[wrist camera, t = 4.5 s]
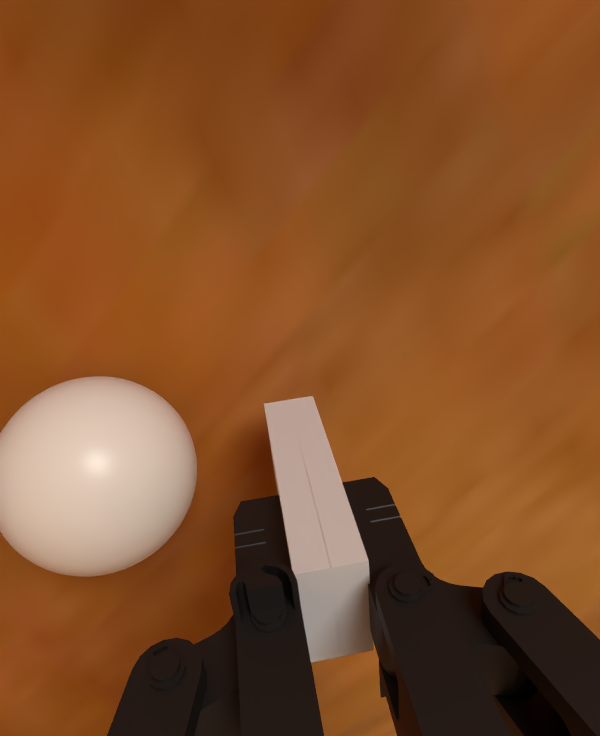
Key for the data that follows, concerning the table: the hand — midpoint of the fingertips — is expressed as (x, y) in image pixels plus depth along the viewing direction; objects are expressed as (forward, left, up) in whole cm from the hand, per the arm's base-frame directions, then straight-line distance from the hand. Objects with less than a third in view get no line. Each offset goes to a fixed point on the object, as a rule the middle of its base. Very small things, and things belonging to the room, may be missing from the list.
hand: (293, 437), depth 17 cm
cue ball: (0, +6, +1) cm, 6 cm away
